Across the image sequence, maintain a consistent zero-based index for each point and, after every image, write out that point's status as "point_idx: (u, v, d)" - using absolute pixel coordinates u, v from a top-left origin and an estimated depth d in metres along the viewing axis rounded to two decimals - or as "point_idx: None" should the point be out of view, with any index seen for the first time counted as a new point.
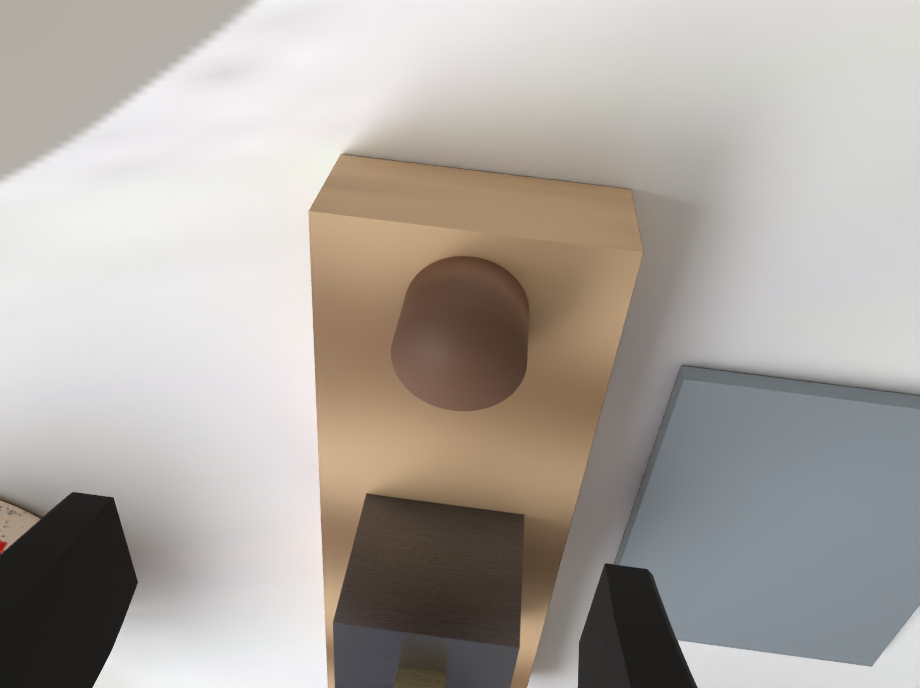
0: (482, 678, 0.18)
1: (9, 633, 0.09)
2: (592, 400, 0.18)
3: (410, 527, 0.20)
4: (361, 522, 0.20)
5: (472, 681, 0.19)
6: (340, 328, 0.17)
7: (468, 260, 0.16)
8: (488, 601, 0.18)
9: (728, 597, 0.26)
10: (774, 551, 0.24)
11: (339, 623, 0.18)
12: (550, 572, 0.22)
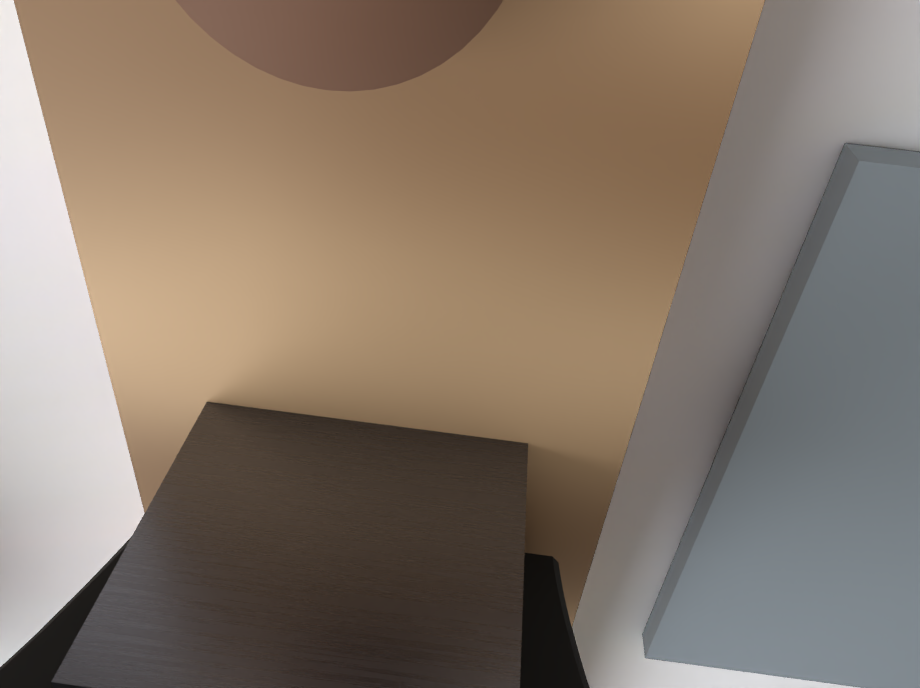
0: None
1: None
2: (693, 142, 0.07)
3: (287, 465, 0.09)
4: (183, 455, 0.09)
5: None
6: None
7: None
8: (445, 628, 0.08)
9: (872, 607, 0.15)
10: None
11: (67, 684, 0.07)
12: (577, 563, 0.12)
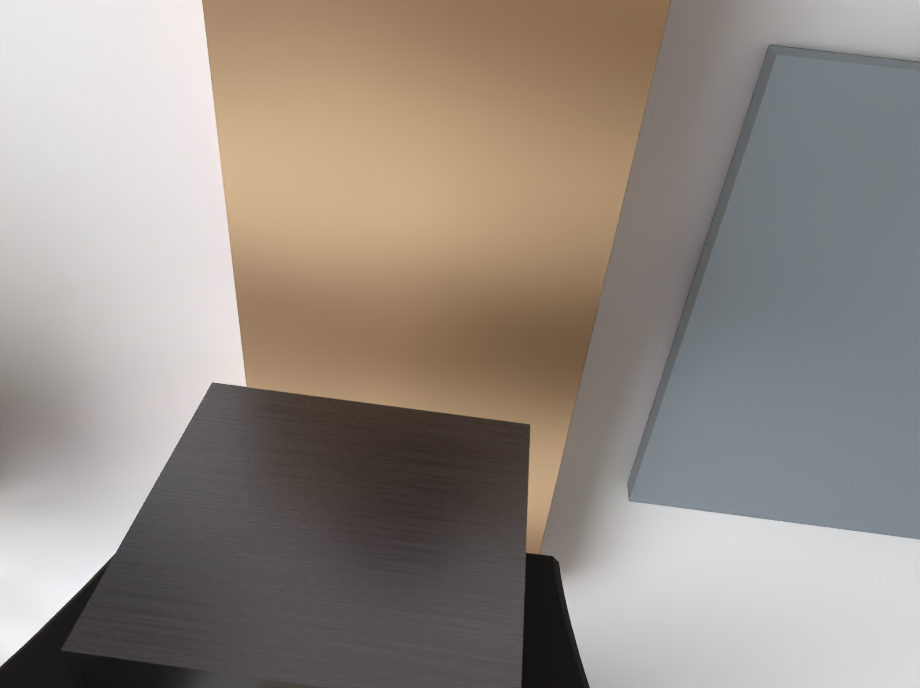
0: None
1: None
2: (647, 19, 0.11)
3: (291, 444, 0.10)
4: (189, 433, 0.10)
5: None
6: None
7: None
8: (448, 600, 0.08)
9: (810, 445, 0.19)
10: (883, 366, 0.17)
11: (76, 652, 0.07)
12: (571, 372, 0.15)
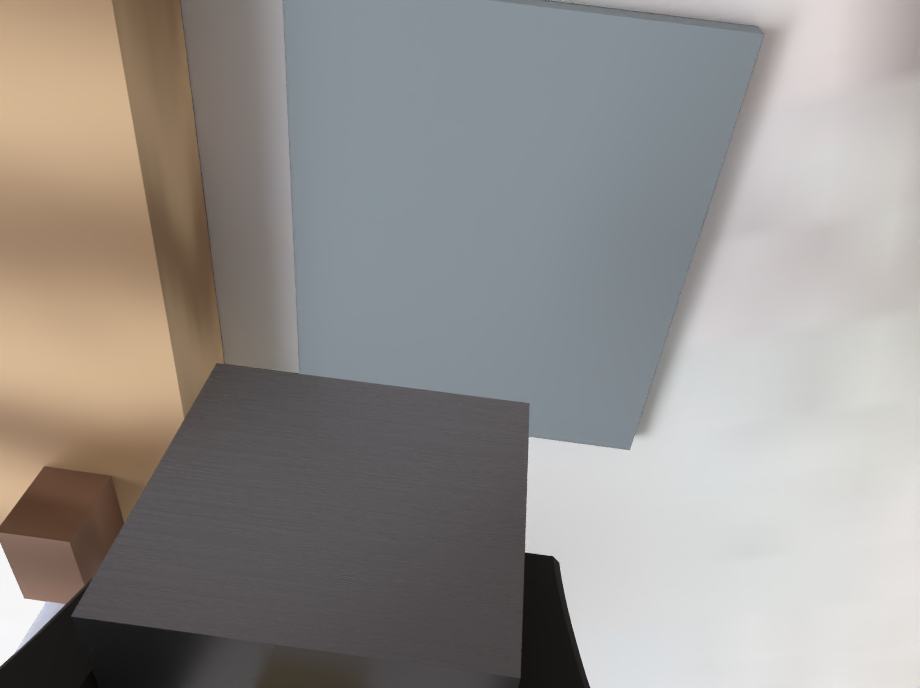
0: None
1: None
2: None
3: (295, 422, 0.10)
4: (194, 412, 0.10)
5: None
6: None
7: None
8: (450, 570, 0.08)
9: (437, 347, 0.21)
10: (470, 269, 0.19)
11: (86, 618, 0.07)
12: (148, 260, 0.17)
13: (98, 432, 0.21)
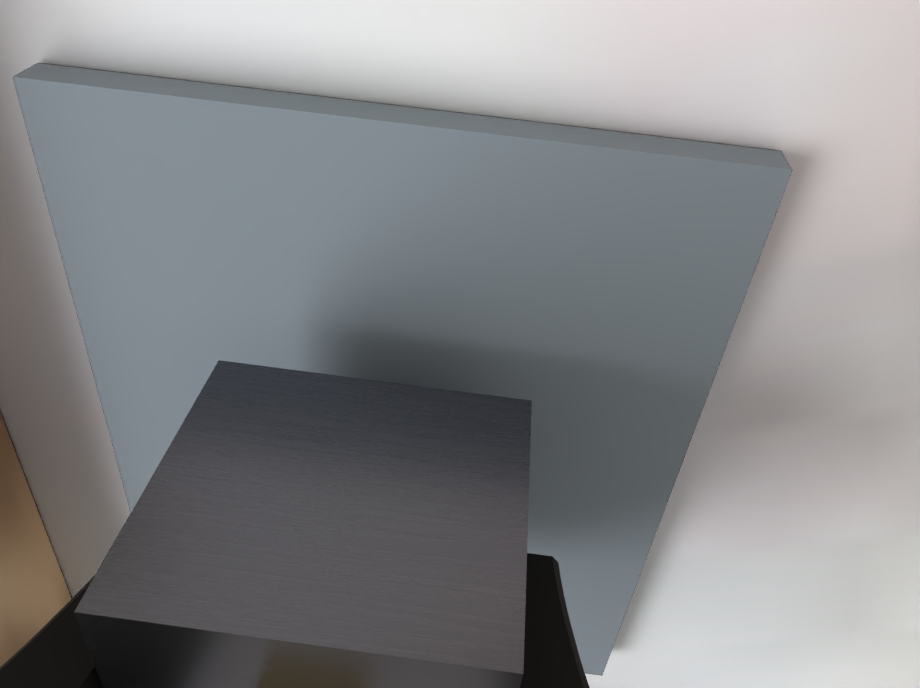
0: None
1: None
2: None
3: (297, 419, 0.10)
4: (197, 408, 0.10)
5: None
6: None
7: None
8: (452, 566, 0.08)
9: None
10: None
11: (89, 614, 0.07)
12: None
13: None
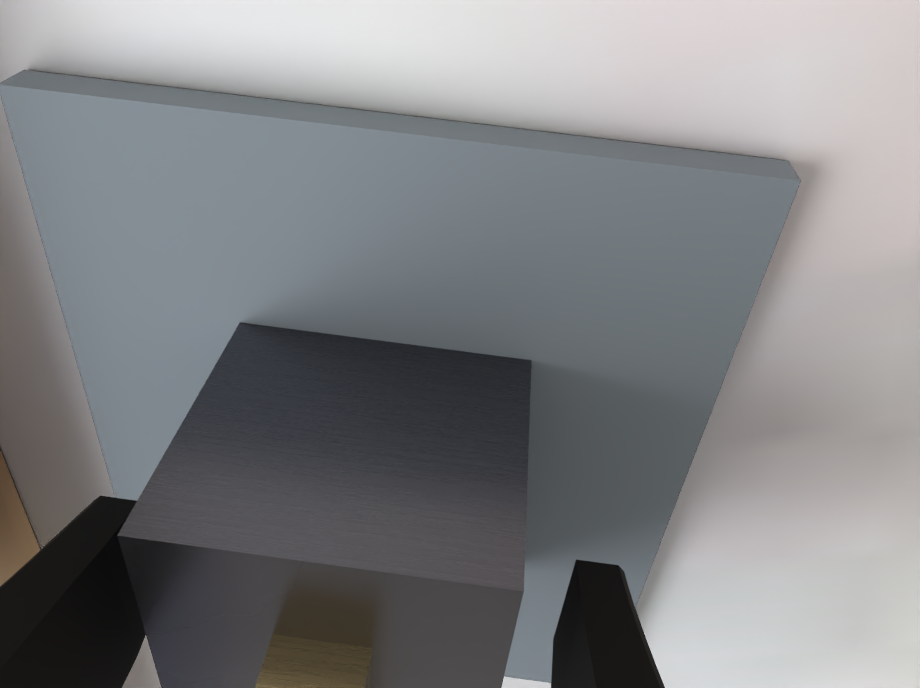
0: (444, 659, 0.09)
1: (43, 638, 0.09)
2: None
3: (314, 374, 0.10)
4: (221, 364, 0.10)
5: (425, 665, 0.09)
6: None
7: None
8: (460, 501, 0.09)
9: None
10: None
11: (131, 537, 0.08)
12: None
13: None
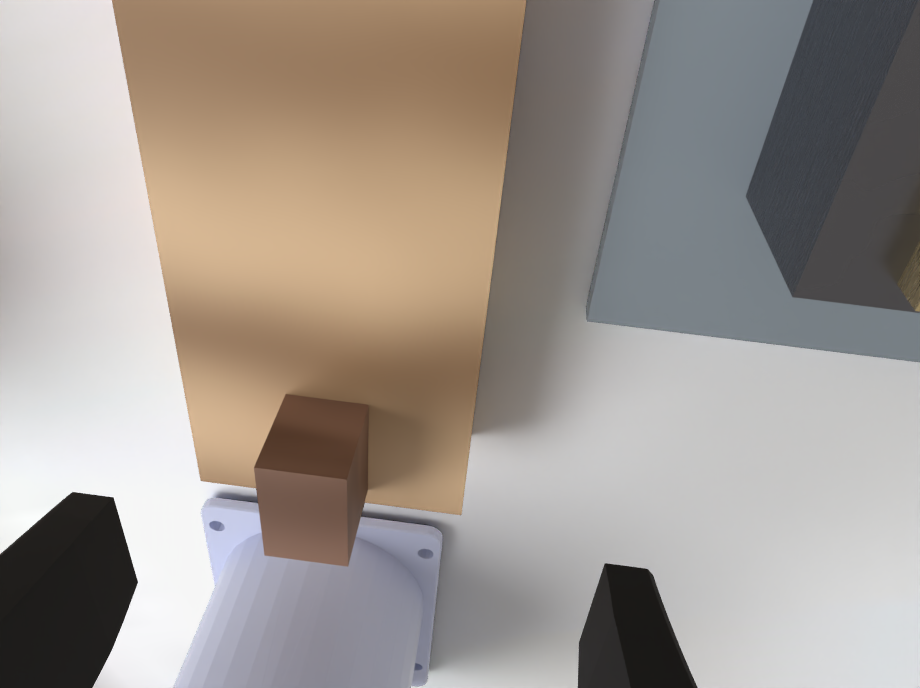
0: None
1: (9, 633, 0.09)
2: None
3: None
4: None
5: None
6: None
7: None
8: None
9: None
10: None
11: None
12: (502, 97, 0.13)
13: (368, 346, 0.17)
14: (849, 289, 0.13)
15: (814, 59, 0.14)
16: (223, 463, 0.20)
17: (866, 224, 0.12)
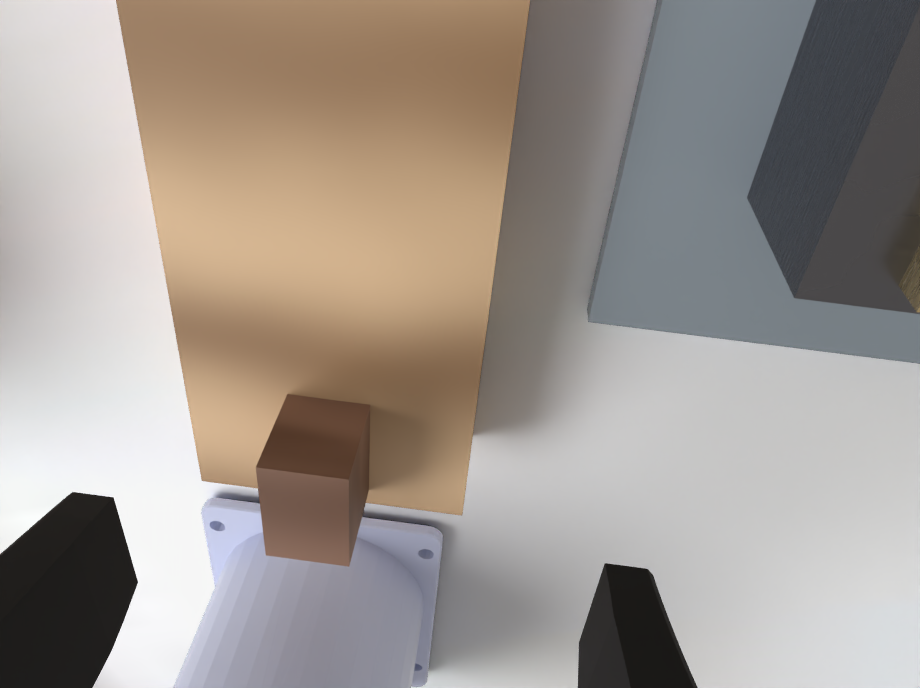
0: None
1: (9, 633, 0.09)
2: None
3: None
4: None
5: None
6: None
7: None
8: None
9: None
10: None
11: None
12: (505, 98, 0.13)
13: (369, 346, 0.17)
14: (851, 290, 0.13)
15: (815, 61, 0.14)
16: (224, 463, 0.20)
17: (867, 226, 0.12)
